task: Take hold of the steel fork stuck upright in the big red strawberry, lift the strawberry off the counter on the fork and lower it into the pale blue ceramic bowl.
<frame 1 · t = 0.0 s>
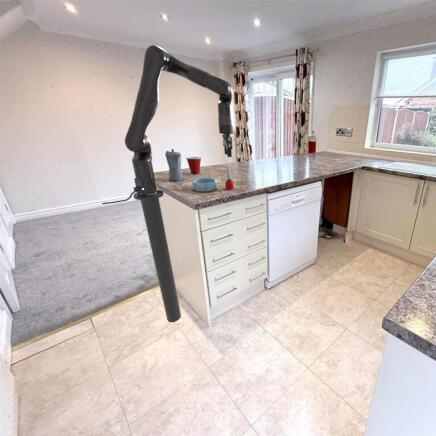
hand: (228, 155, 134), 21 cm above the worktop, tool pointing down, fingers open, 8 cm apart
plastic cup: (195, 173, 181), on the worktop
moka pot: (176, 179, 164), on the worktop
strawberry fork: (229, 188, 149), on the worktop
serving bowl: (205, 188, 147), on the worktop
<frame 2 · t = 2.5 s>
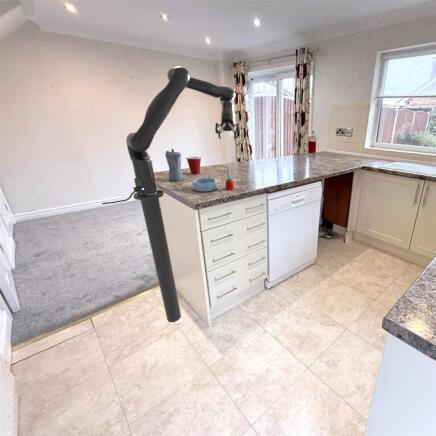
hand: (227, 138, 147), 28 cm above the worktop, tool tilted 45°, fingers open, 8 cm apart
nothing on the worktop moved.
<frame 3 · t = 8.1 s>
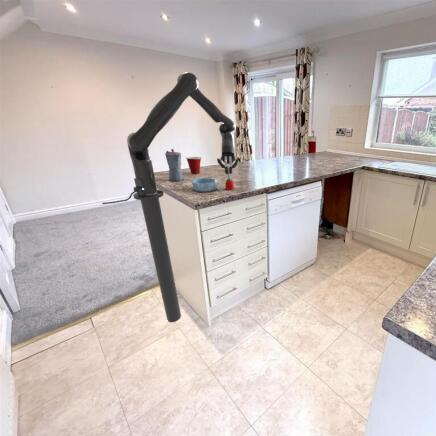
hand: (228, 173, 143), 10 cm above the worktop, tool tilted 45°, fingers closed on strawberry fork
strawberry fork: (229, 188, 149), on the worktop, touching gripper
everything else where it was.
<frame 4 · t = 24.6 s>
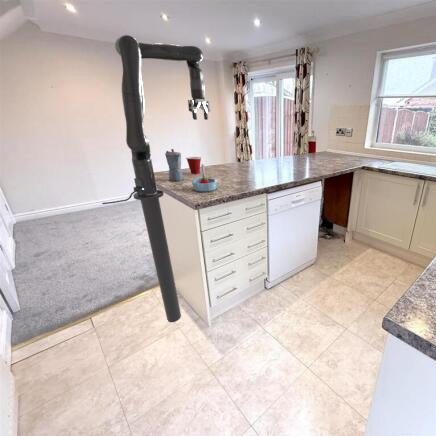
hand: (200, 119, 146), 38 cm above the worktop, tool pointing down, fingers open, 8 cm apart
strawberry fork: (205, 187, 147), point 1 cm above the worktop, touching serving bowl
everything else where it was.
at the end: strawberry fork inside the target area in the serving bowl (0.1 cm from its centre), point 0.6 cm above the serving bowl's base; the gripper is holding nothing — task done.
